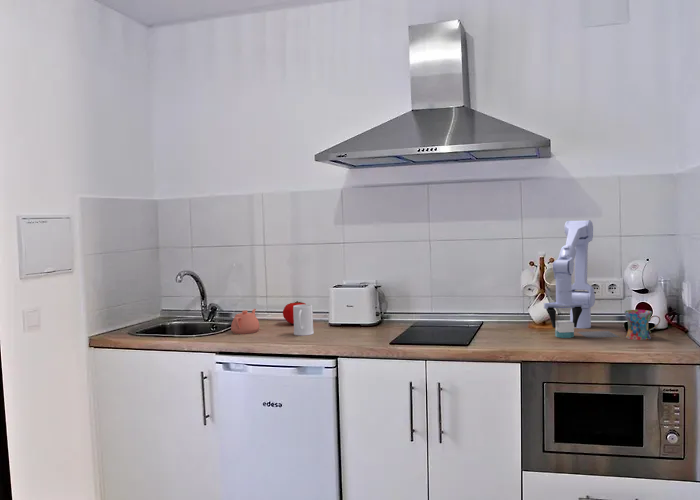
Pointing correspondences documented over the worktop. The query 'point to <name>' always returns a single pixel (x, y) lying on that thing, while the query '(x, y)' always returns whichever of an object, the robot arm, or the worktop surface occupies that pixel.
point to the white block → (564, 326)
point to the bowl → (564, 334)
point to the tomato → (290, 311)
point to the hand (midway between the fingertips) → (564, 327)
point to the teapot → (245, 323)
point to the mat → (598, 334)
